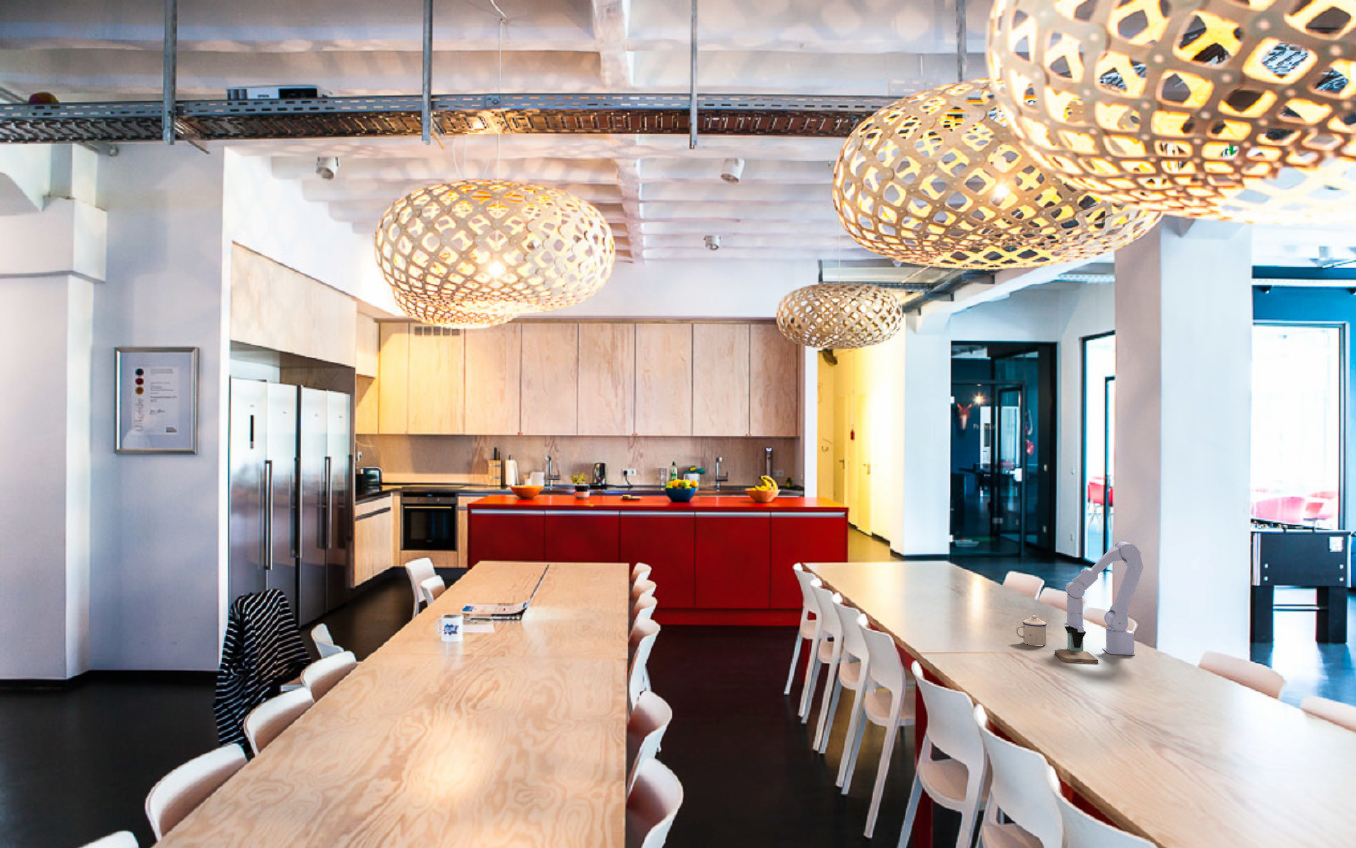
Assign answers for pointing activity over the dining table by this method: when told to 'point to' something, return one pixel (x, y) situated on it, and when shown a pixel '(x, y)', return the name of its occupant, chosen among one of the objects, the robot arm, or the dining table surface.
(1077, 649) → the teal block
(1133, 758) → the dining table surface
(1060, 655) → the walnut slab
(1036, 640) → the teacup with lid
